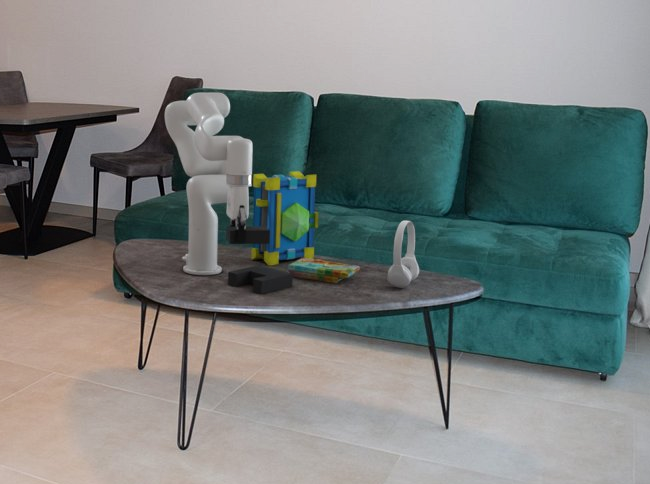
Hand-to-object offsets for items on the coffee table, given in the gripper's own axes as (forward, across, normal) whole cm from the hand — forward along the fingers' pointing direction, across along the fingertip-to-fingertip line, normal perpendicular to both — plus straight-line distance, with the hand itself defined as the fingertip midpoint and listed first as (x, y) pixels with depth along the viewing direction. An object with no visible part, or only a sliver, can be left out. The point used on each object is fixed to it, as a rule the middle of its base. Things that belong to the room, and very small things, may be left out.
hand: (237, 239), depth 243 cm
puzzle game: (+16, -13, +31) cm, 37 cm away
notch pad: (+16, -6, +9) cm, 19 cm away
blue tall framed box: (+16, -38, +24) cm, 48 cm away
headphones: (+16, -3, +54) cm, 56 cm away
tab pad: (+1, 0, +3) cm, 3 cm away
